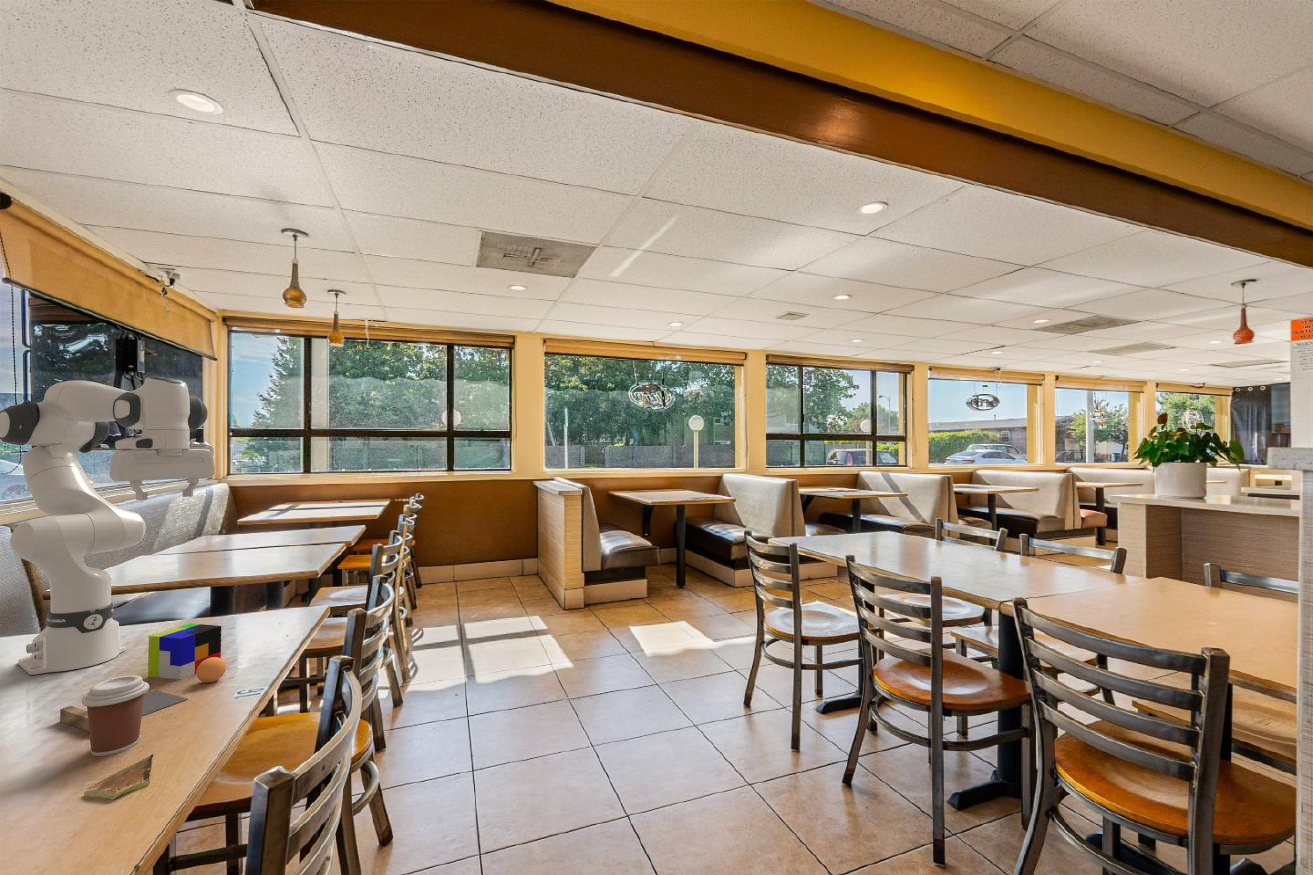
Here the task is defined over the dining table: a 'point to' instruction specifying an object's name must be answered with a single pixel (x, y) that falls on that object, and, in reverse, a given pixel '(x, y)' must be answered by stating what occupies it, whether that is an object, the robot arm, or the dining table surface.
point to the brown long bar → (75, 717)
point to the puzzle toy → (182, 650)
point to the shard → (123, 780)
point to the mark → (159, 701)
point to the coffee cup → (115, 713)
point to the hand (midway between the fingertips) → (165, 498)
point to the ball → (211, 669)
